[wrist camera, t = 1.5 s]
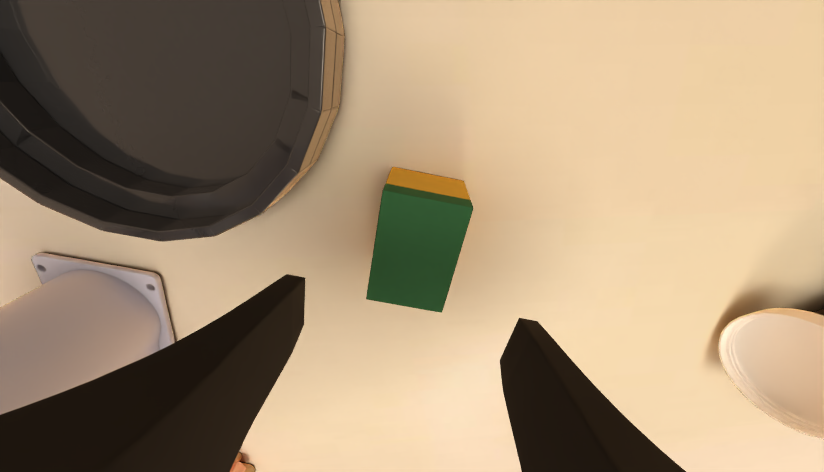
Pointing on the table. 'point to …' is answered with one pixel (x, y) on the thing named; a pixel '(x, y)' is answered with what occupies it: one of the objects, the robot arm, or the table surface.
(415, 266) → the sponge
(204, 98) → the bowl
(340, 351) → the table surface
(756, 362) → the spread jar
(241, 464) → the grandmother figurine
